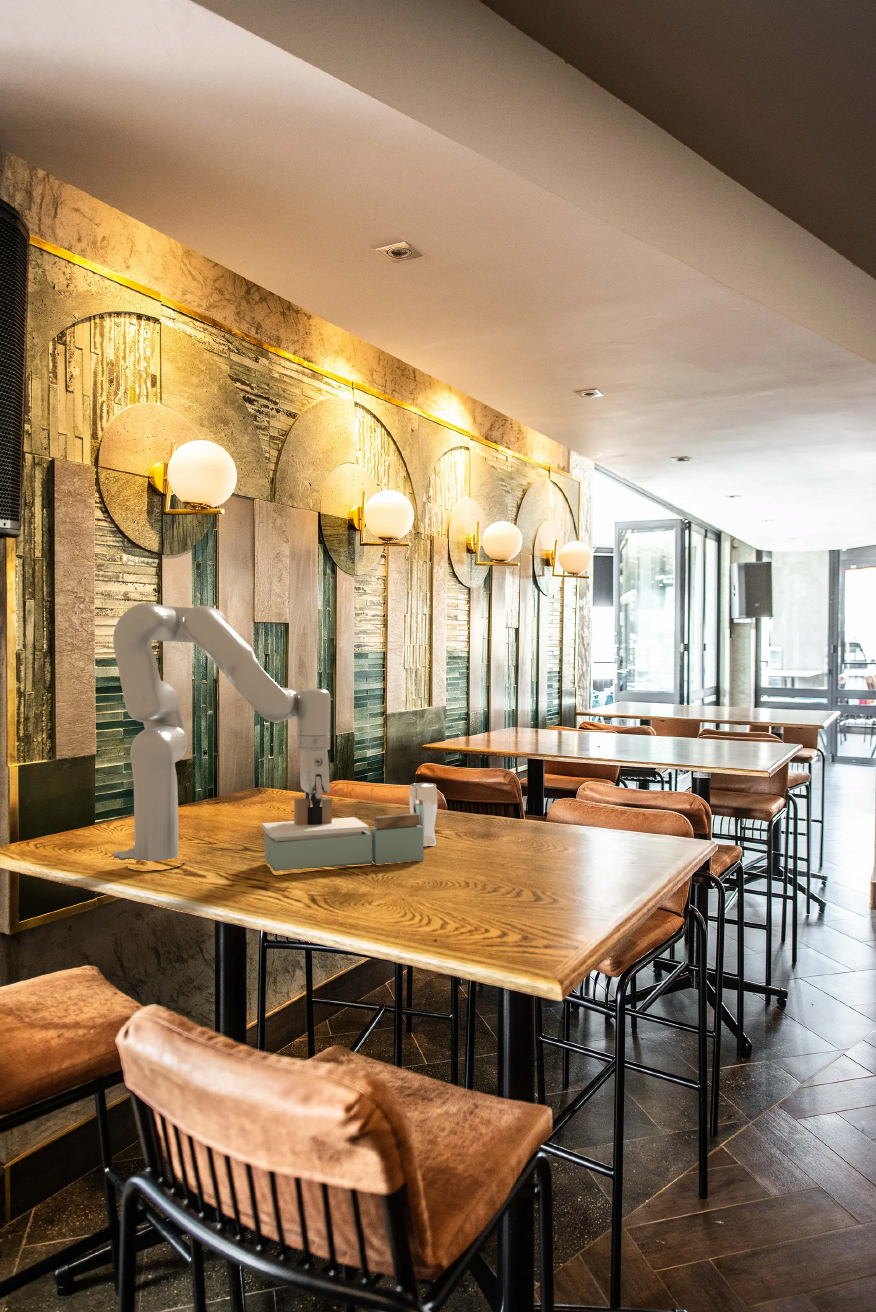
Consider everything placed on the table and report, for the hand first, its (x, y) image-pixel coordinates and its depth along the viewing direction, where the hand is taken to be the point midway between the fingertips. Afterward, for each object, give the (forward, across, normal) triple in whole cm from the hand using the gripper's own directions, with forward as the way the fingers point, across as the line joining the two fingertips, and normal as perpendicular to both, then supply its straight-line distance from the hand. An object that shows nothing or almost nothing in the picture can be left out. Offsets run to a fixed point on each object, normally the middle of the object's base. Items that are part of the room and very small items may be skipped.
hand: (313, 822), depth 193 cm
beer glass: (+9, +7, -30) cm, 32 cm away
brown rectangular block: (+1, -7, -18) cm, 19 cm away
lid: (+2, -2, 0) cm, 3 cm away
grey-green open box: (+9, -3, -7) cm, 12 cm away
